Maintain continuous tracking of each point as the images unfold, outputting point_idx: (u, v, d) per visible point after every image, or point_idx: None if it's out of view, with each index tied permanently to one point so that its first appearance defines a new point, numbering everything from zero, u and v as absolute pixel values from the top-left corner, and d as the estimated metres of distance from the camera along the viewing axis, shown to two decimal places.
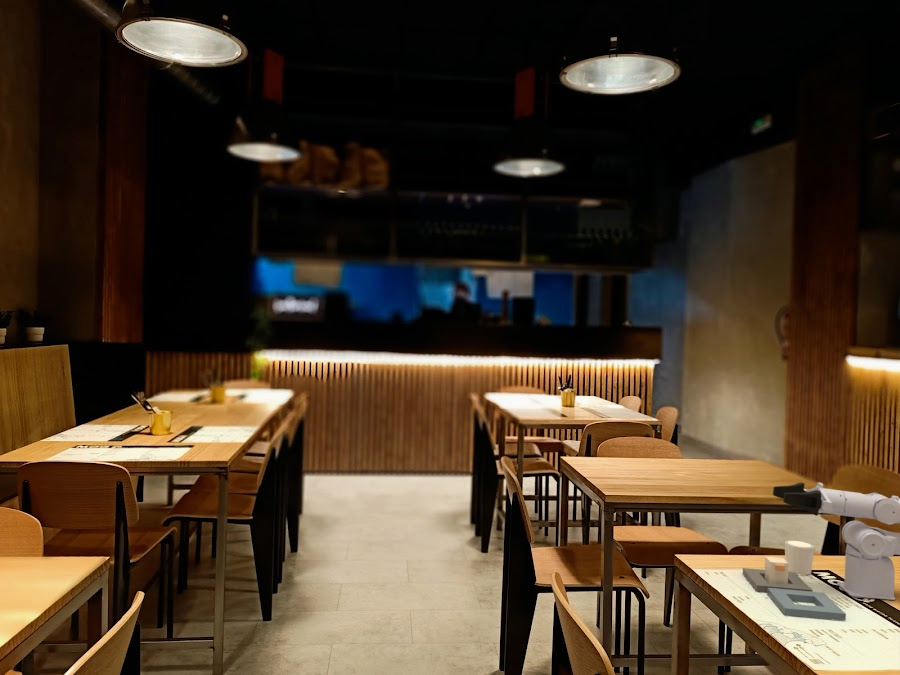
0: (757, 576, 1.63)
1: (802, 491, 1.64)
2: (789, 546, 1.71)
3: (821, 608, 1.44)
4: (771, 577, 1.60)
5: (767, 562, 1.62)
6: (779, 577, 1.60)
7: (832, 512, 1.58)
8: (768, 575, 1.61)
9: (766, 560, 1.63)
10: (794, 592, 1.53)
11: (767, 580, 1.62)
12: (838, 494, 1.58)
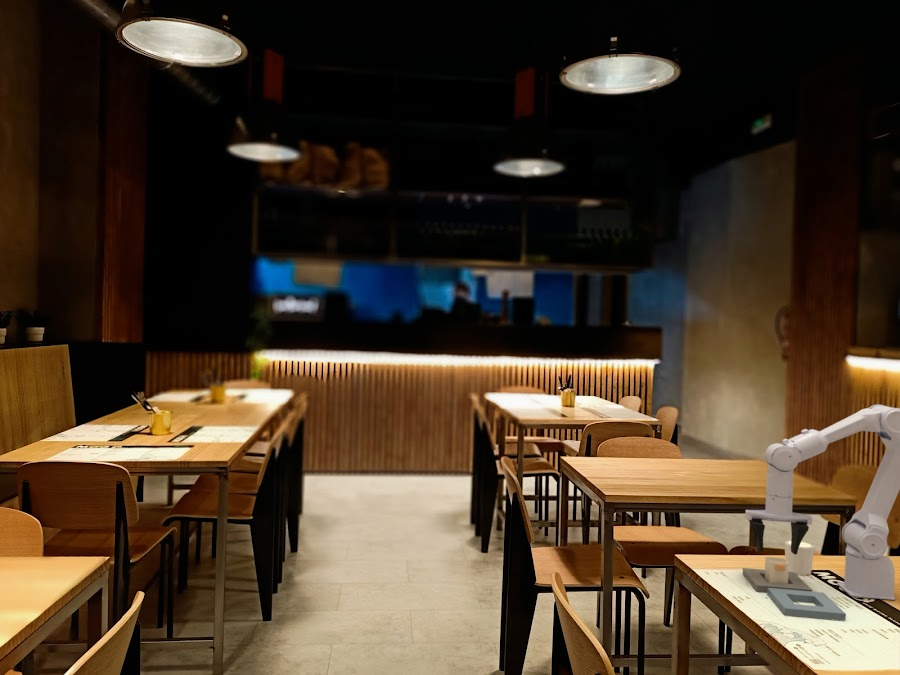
0: (757, 576, 1.63)
1: (793, 524, 1.62)
2: (789, 546, 1.71)
3: (821, 608, 1.44)
4: (771, 577, 1.60)
5: (767, 562, 1.62)
6: (779, 578, 1.60)
7: (774, 505, 1.60)
8: (768, 575, 1.61)
9: (766, 560, 1.63)
10: (794, 592, 1.53)
11: (767, 580, 1.62)
12: None
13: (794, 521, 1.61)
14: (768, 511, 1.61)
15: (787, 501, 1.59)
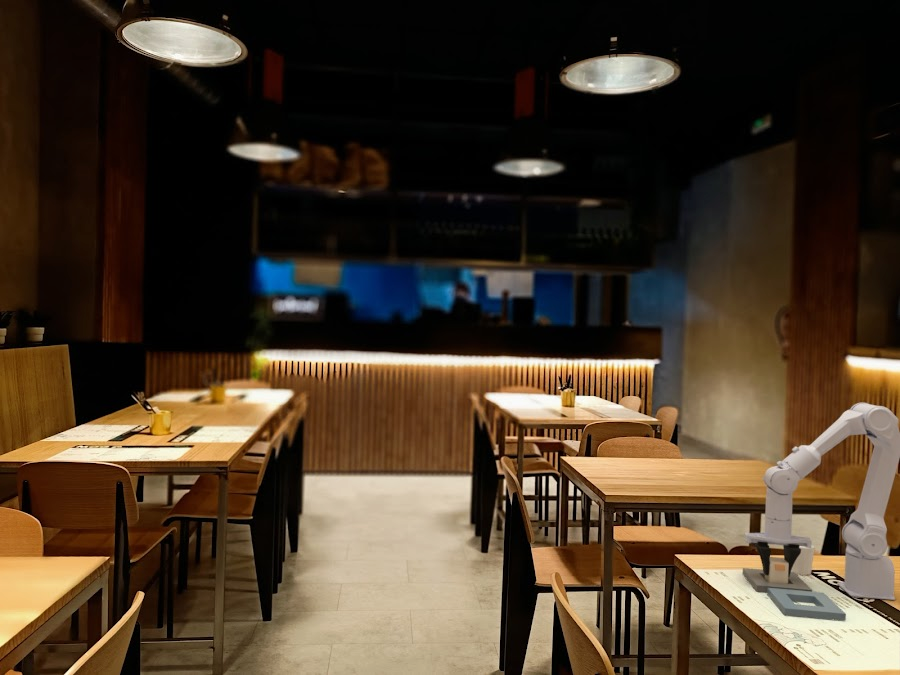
0: (757, 576, 1.63)
1: (785, 547, 1.62)
2: None
3: (821, 608, 1.44)
4: (771, 577, 1.60)
5: None
6: (779, 577, 1.60)
7: (773, 528, 1.60)
8: None
9: None
10: (794, 592, 1.53)
11: (767, 580, 1.62)
12: None
13: (793, 544, 1.61)
14: (767, 535, 1.61)
15: (786, 525, 1.59)
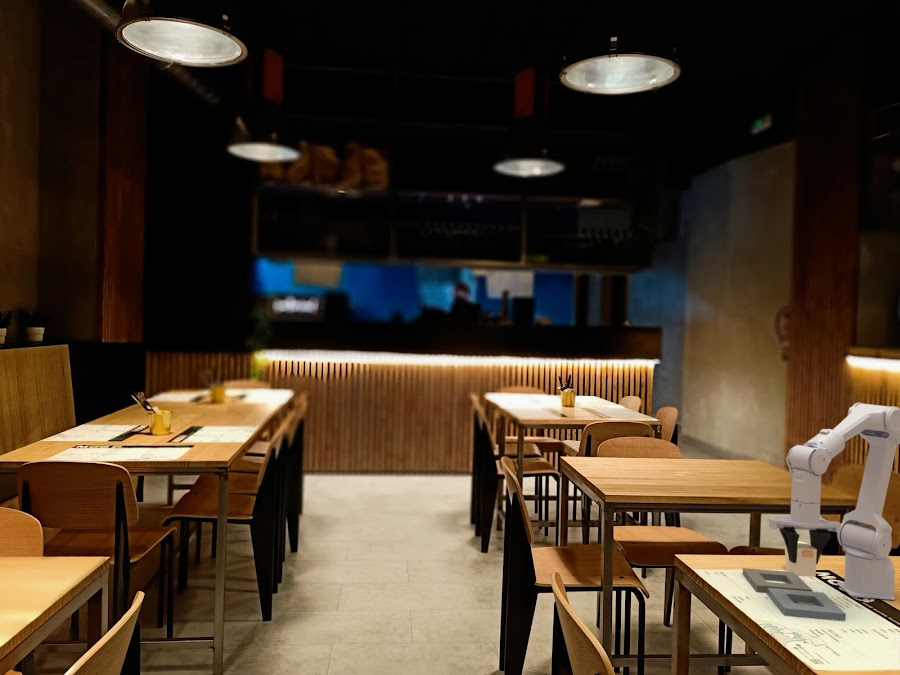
0: (757, 576, 1.63)
1: (812, 532, 1.50)
2: None
3: (821, 608, 1.44)
4: (798, 564, 1.48)
5: None
6: (806, 565, 1.48)
7: (801, 512, 1.48)
8: None
9: None
10: (794, 592, 1.53)
11: (793, 568, 1.50)
12: None
13: (821, 529, 1.49)
14: (795, 519, 1.49)
15: (815, 508, 1.47)
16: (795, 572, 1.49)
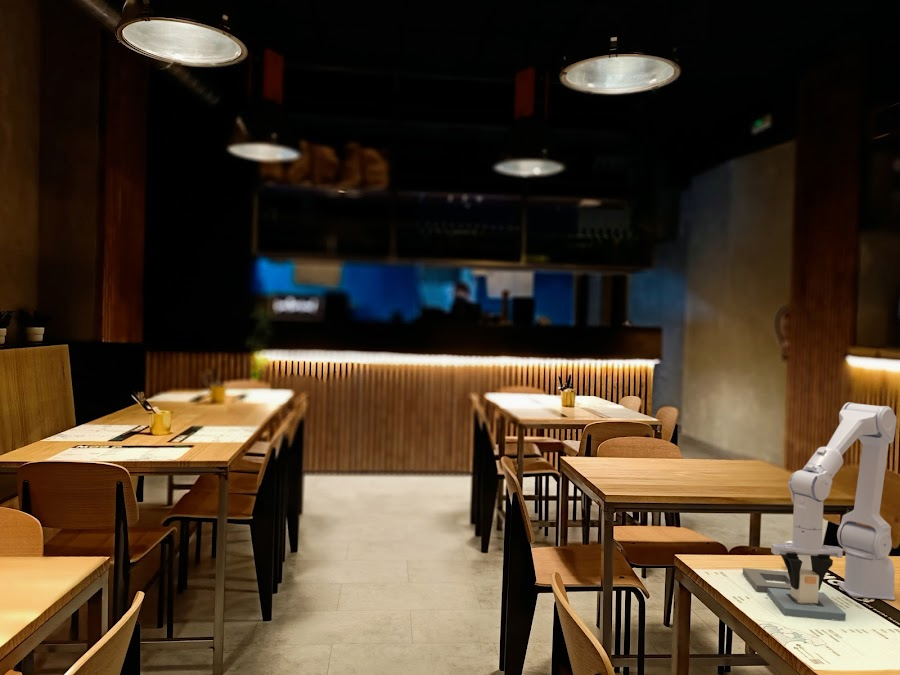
0: (757, 576, 1.63)
1: (814, 557, 1.49)
2: None
3: (821, 608, 1.44)
4: (801, 591, 1.47)
5: None
6: (809, 591, 1.47)
7: (804, 538, 1.46)
8: None
9: None
10: None
11: (795, 594, 1.49)
12: None
13: (823, 554, 1.48)
14: (797, 545, 1.47)
15: (818, 534, 1.46)
16: (797, 599, 1.48)
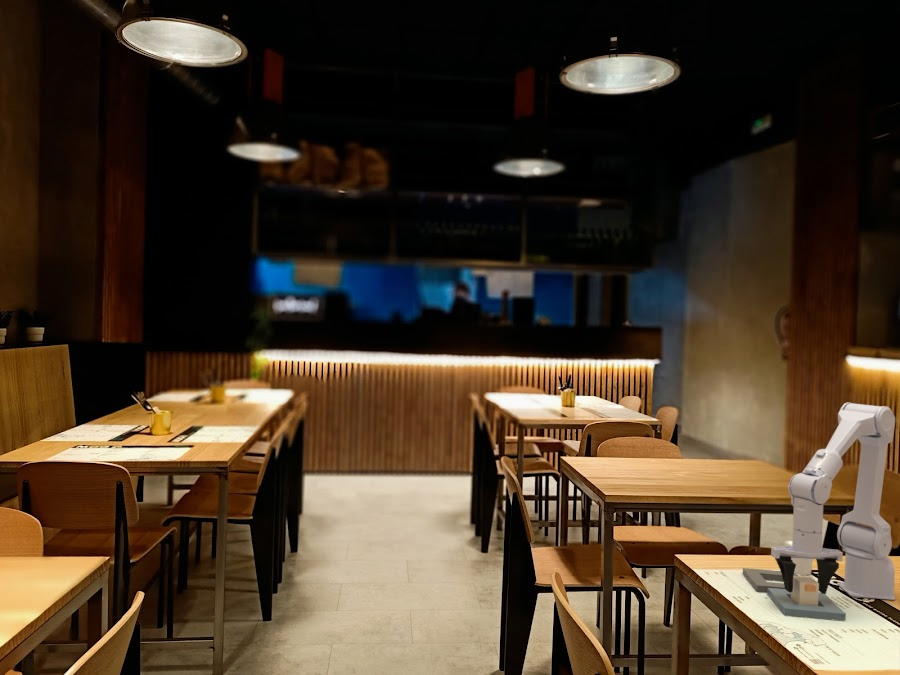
0: (757, 576, 1.63)
1: (820, 561, 1.49)
2: None
3: (821, 608, 1.44)
4: (801, 599, 1.47)
5: (795, 582, 1.49)
6: (809, 599, 1.47)
7: (803, 541, 1.46)
8: (797, 596, 1.48)
9: (793, 580, 1.50)
10: None
11: (795, 602, 1.49)
12: None
13: (823, 558, 1.48)
14: (797, 549, 1.47)
15: (818, 537, 1.46)
16: None
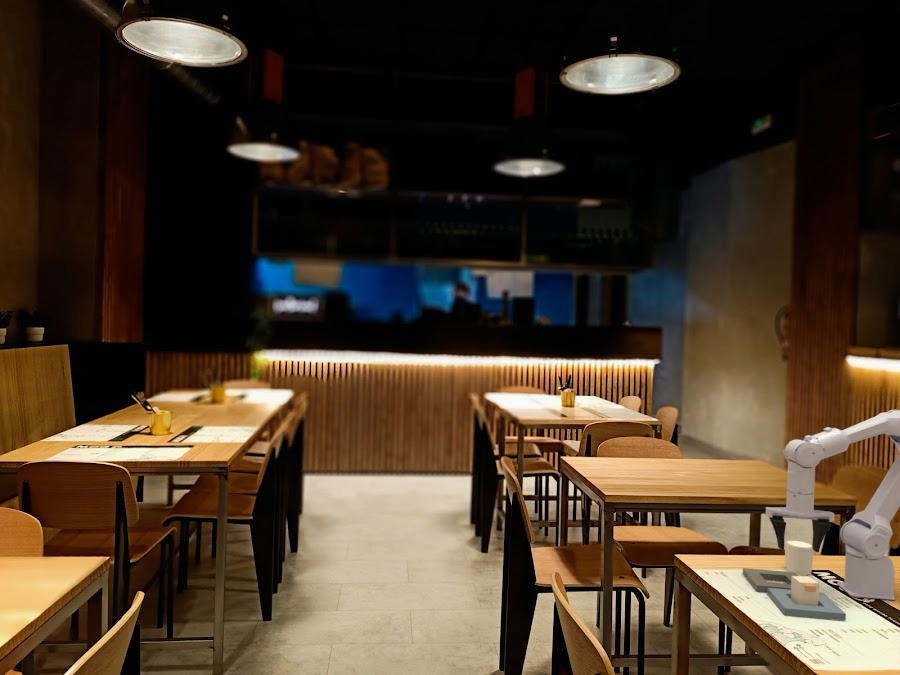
0: (757, 576, 1.63)
1: (814, 522, 1.59)
2: (789, 546, 1.71)
3: (821, 608, 1.44)
4: (801, 599, 1.47)
5: (795, 582, 1.49)
6: (809, 599, 1.47)
7: (795, 502, 1.57)
8: (797, 596, 1.48)
9: (793, 580, 1.50)
10: None
11: (795, 602, 1.49)
12: None
13: (816, 518, 1.58)
14: (789, 509, 1.58)
15: (809, 498, 1.56)
16: None
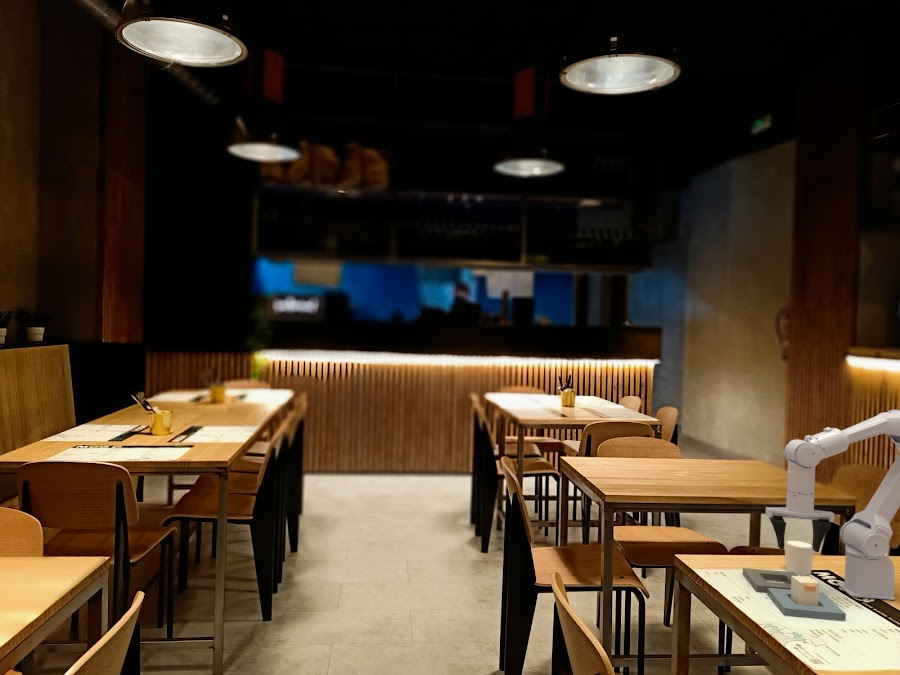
0: (757, 576, 1.63)
1: (814, 522, 1.59)
2: (789, 546, 1.71)
3: (821, 608, 1.44)
4: (801, 599, 1.47)
5: (795, 582, 1.49)
6: (809, 599, 1.47)
7: (795, 502, 1.57)
8: (797, 596, 1.48)
9: (793, 580, 1.50)
10: None
11: (795, 602, 1.49)
12: None
13: (816, 518, 1.58)
14: (789, 509, 1.58)
15: (809, 498, 1.56)
16: None
